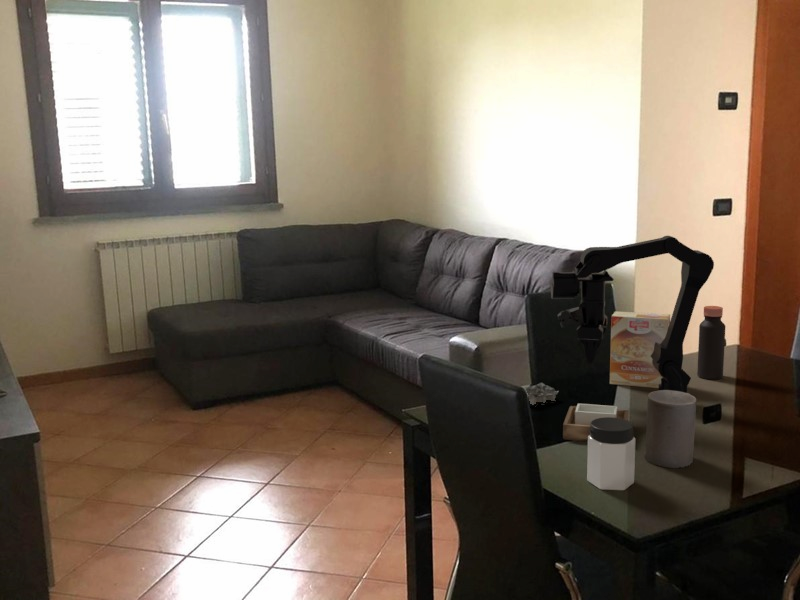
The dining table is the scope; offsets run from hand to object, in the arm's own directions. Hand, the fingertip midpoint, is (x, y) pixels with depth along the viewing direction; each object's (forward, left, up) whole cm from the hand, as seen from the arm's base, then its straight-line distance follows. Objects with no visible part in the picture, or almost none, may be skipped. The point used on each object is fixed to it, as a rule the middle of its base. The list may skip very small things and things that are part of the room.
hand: (591, 358), depth 201 cm
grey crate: (-3, +20, -12) cm, 23 cm away
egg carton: (+14, 0, -12) cm, 19 cm away
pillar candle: (-19, +33, -12) cm, 40 cm away
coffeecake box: (-11, -22, -12) cm, 27 cm away
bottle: (-30, -33, -12) cm, 46 cm away
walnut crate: (-3, +20, -12) cm, 24 cm away
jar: (-8, +48, -12) cm, 50 cm away
